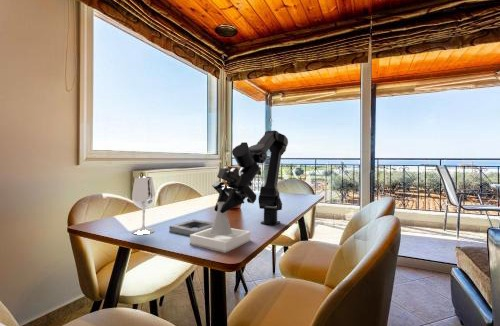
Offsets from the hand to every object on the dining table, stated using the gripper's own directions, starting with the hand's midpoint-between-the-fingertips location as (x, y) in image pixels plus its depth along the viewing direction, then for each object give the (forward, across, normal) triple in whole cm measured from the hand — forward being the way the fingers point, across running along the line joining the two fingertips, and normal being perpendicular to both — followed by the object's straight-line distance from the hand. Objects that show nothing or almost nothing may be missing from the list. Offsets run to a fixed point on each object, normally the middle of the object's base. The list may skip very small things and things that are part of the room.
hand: (218, 211), depth 84 cm
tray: (+6, 0, +8) cm, 10 cm away
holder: (+7, -18, +8) cm, 21 cm away
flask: (+4, 0, +6) cm, 8 cm away
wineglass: (+18, -27, -3) cm, 33 cm away
